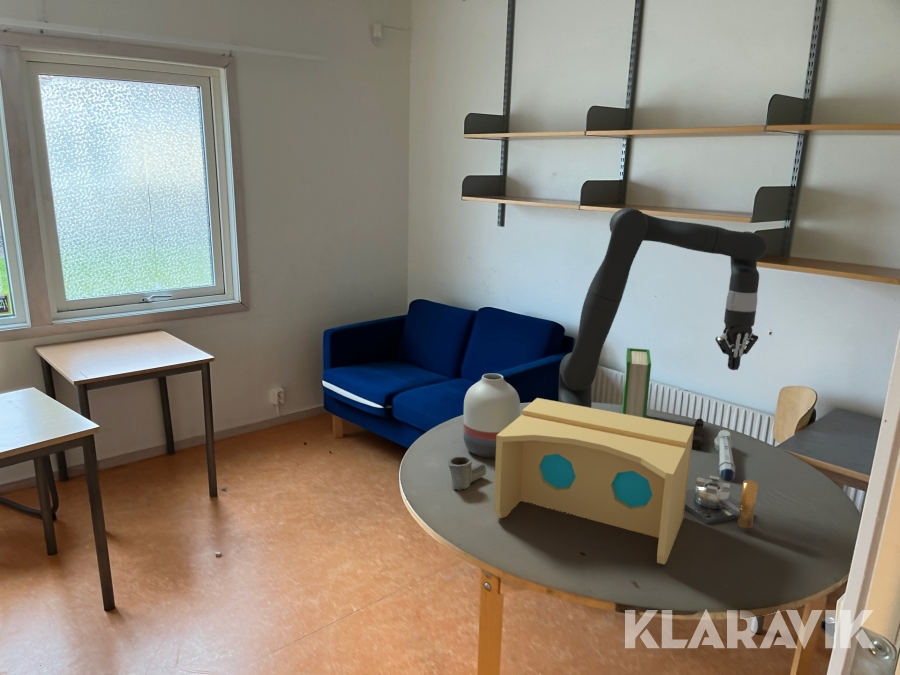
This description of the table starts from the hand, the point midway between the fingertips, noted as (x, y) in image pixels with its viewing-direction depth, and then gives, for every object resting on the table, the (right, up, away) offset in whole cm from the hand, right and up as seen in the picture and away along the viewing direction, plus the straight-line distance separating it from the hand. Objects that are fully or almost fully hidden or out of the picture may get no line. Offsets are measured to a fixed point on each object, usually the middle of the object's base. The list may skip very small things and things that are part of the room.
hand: (733, 369), depth 177 cm
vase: (-65, -26, +21) cm, 73 cm away
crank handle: (-9, -34, -16) cm, 39 cm away
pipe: (-73, -32, -1) cm, 80 cm away
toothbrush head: (+4, -29, +15) cm, 33 cm away
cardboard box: (-43, -36, -18) cm, 60 cm away
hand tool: (+2, -24, +31) cm, 40 cm away
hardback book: (-15, -21, +44) cm, 51 cm away
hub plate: (-11, -35, -11) cm, 38 cm away
